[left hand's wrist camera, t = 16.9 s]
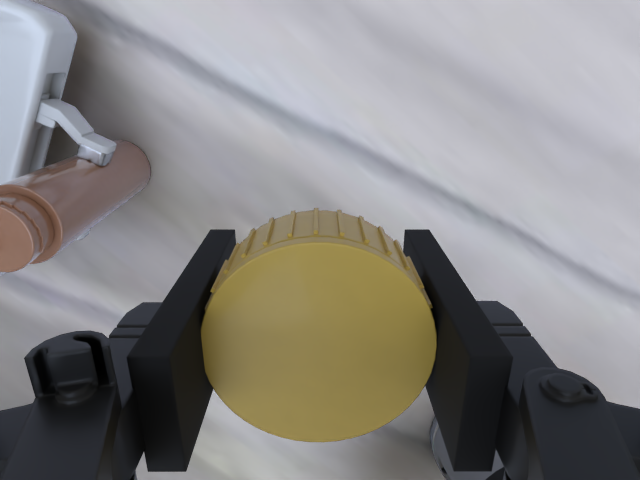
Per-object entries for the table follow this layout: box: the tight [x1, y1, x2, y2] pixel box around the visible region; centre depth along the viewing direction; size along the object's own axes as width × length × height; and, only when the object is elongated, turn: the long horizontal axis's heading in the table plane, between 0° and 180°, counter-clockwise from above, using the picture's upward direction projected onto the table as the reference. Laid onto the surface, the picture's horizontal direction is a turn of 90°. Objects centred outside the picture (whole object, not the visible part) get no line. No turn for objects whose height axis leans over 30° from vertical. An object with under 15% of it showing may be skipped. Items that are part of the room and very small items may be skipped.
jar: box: [0, 140, 151, 272], centre depth 30 cm, size 5×5×16 cm
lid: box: [201, 208, 437, 442], centre depth 11 cm, size 6×6×2 cm
